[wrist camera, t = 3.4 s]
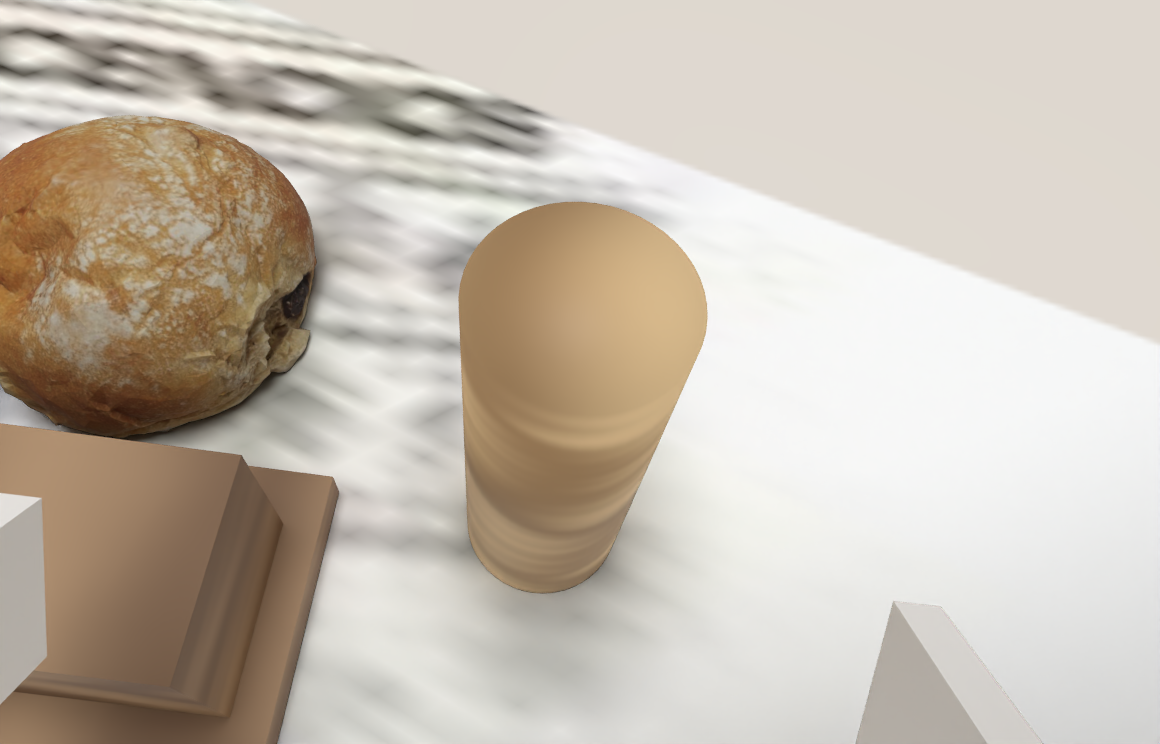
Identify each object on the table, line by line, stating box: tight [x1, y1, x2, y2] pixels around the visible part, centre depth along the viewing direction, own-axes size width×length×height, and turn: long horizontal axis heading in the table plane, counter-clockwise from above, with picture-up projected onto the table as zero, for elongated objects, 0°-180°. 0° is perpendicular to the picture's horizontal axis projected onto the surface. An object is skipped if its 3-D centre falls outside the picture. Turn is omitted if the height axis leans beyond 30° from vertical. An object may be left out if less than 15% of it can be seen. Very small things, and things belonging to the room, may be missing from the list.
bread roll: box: [0, 115, 317, 438], centre depth 26 cm, size 10×10×8 cm
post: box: [459, 202, 707, 593], centre depth 21 cm, size 4×4×12 cm
